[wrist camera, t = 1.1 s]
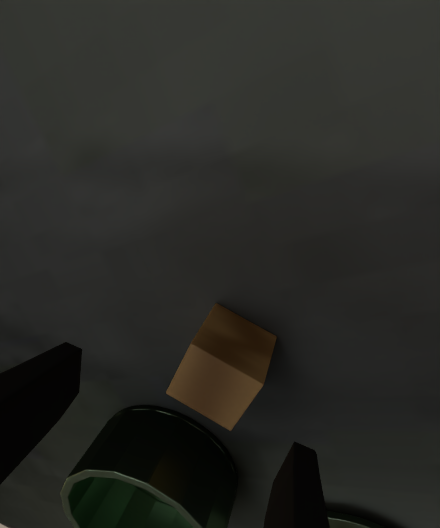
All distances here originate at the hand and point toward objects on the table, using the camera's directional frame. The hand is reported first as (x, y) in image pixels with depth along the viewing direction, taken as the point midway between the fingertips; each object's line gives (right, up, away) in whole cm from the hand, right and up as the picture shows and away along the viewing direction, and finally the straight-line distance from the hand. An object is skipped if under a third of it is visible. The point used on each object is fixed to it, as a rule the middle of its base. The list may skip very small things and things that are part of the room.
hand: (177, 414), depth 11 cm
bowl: (-3, -11, +17) cm, 20 cm away
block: (+2, 0, +10) cm, 11 cm away
